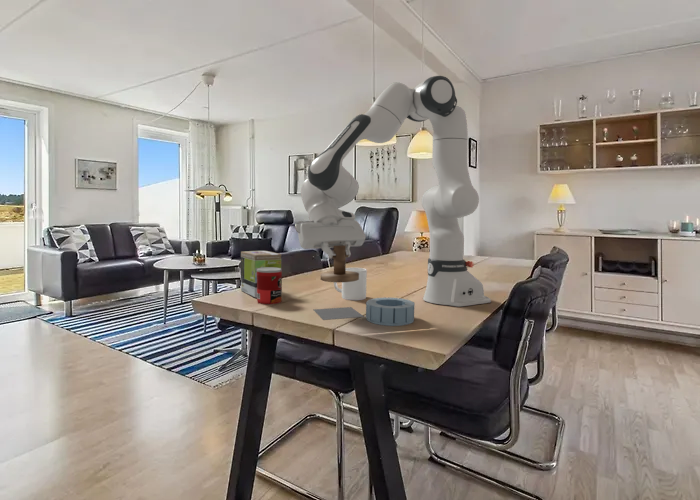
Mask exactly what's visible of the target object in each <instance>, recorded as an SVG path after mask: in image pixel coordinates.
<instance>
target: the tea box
mask: <svg viewBox="0 0 700 500" xmlns="http://www.w3.org/2000/svg"><path fill="white" fill-rule="evenodd" d="M264 267H276V268H281V269H282V254H281V253H278V252H274V251H268V250H249V251H240V291H241V292H243V293H246V294H248V295H249V296H251V297H254V298H256V299H257V269H258V268H264Z"/></svg>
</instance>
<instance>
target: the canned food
mask: <svg viewBox="0 0 700 500" xmlns="http://www.w3.org/2000/svg"><path fill="white" fill-rule="evenodd" d="M282 275H283V271H282V267H281V268H276V267H264V268H258V269H257V298H256V301H257V304H262V305H275V304H279V303H281V302H282V301H283V300H282V298H283V295H282V294H283V290H282V289H283V288H282V287H283V286H282V285H283V284H282V283H283V282H282V281H283V279H282V278H283V276H282Z"/></svg>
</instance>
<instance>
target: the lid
mask: <svg viewBox="0 0 700 500" xmlns="http://www.w3.org/2000/svg"><path fill="white" fill-rule="evenodd" d="M333 250H334V251H335V253H336V257H335V258H333V270H329V271H323V272H321V273H320V275H319V276H320V280H321V281H324V282H327V283H334V282H337V283H342V282H352V281H357V280H359V273H357V272H353V271H346V268H347V267H346V265H347V264H346V261H347V260H346V259H347V257H346V248H345V246H343V245H337V246H334V248H333Z"/></svg>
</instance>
